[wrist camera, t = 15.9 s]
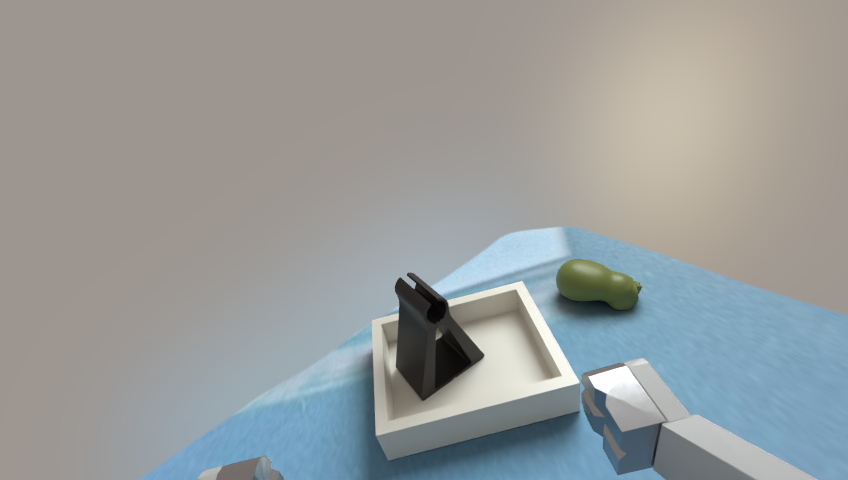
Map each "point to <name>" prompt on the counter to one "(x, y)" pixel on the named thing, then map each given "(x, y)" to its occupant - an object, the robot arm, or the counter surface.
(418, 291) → the phone stand
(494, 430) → the tray
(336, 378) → the counter surface
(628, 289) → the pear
